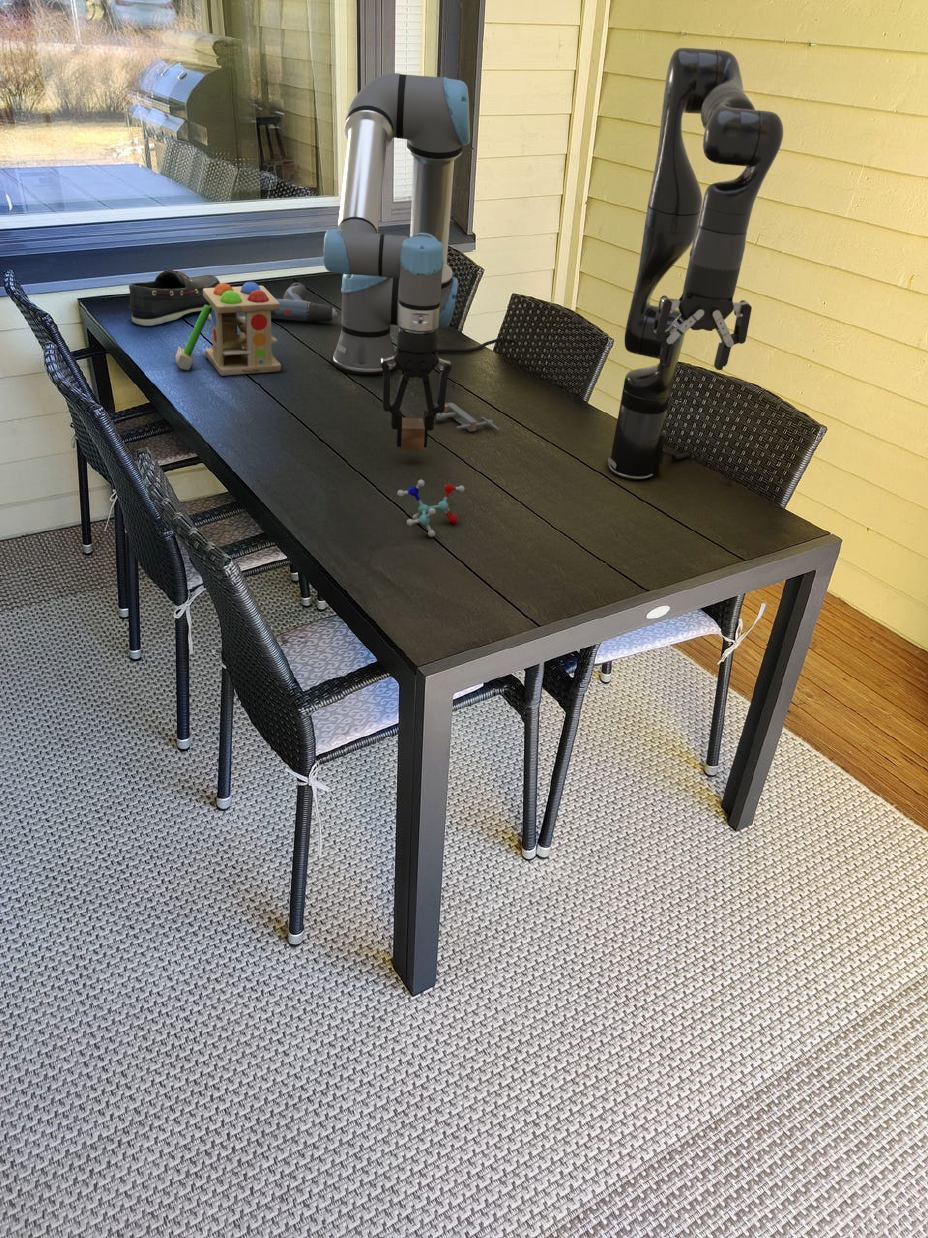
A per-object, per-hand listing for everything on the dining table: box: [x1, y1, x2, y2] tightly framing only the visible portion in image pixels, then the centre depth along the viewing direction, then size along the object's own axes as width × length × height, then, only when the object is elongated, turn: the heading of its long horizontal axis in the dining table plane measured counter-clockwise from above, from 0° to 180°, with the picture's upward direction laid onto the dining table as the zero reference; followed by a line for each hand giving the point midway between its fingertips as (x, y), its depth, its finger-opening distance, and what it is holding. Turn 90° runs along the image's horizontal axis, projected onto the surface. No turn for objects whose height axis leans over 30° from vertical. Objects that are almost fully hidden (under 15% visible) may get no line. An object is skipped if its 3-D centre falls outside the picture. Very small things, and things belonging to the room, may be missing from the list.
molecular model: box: [397, 479, 466, 538], centre depth 173 cm, size 12×10×10 cm
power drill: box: [271, 282, 338, 322], centre depth 265 cm, size 5×19×20 cm
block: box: [400, 417, 425, 452], centre depth 193 cm, size 4×5×5 cm
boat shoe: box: [128, 268, 221, 327], centre depth 258 cm, size 13×33×10 cm, turn 147°
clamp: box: [435, 402, 502, 433], centre depth 212 cm, size 15×2×10 cm
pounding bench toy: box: [174, 281, 282, 377], centre depth 225 cm, size 23×14×18 cm, turn 116°
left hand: (411, 443), depth 194 cm, fingers closed on block, 4 cm apart
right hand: (691, 366), depth 153 cm, fingers open, 8 cm apart
